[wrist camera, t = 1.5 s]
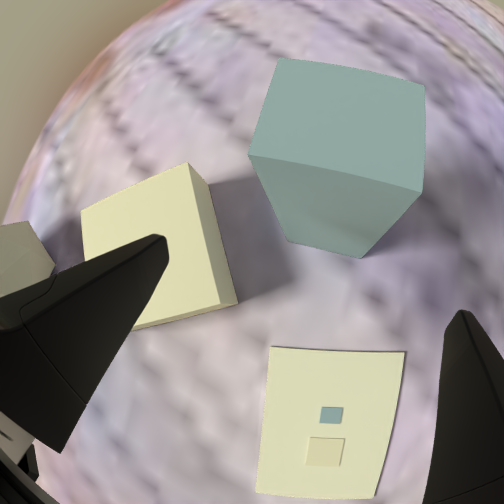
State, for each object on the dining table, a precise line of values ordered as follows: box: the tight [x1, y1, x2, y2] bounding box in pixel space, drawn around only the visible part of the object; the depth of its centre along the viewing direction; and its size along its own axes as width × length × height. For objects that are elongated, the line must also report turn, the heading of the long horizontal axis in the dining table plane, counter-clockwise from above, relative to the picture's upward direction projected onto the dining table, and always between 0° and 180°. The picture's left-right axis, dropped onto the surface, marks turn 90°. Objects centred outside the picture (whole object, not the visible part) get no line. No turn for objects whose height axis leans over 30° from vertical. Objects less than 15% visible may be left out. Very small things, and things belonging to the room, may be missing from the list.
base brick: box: [81, 162, 238, 331], centre depth 20 cm, size 9×9×4 cm
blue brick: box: [247, 58, 426, 259], centre depth 14 cm, size 4×5×12 cm
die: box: [0, 221, 55, 297], centre depth 21 cm, size 8×9×10 cm
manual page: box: [255, 347, 404, 499], centre depth 18 cm, size 12×9×1 cm
